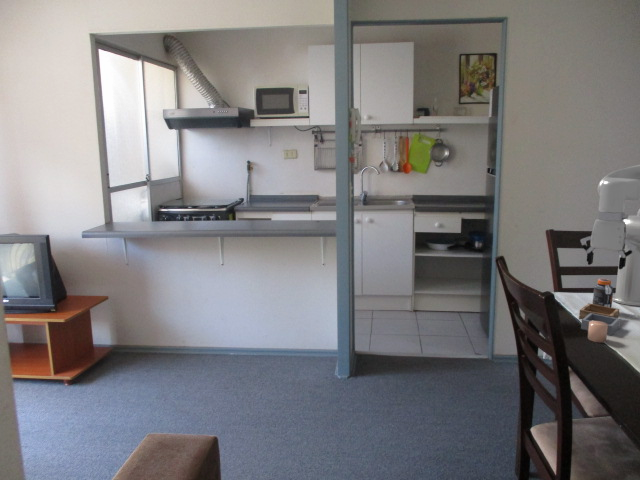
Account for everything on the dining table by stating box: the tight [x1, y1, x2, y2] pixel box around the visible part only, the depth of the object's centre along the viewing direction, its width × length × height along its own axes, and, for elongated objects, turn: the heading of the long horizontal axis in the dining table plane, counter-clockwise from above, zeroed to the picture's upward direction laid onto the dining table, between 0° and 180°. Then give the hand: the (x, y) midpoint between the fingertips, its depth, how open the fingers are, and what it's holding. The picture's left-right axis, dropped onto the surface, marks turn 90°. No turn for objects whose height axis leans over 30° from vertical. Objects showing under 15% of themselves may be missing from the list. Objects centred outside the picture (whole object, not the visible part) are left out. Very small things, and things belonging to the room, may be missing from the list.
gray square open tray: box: [580, 313, 621, 336], centre depth 172 cm, size 9×9×3 cm
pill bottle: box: [592, 278, 614, 308], centre depth 187 cm, size 6×6×11 cm
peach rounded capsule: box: [587, 321, 608, 343], centre depth 163 cm, size 5×5×5 cm
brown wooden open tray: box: [578, 302, 620, 320], centre depth 181 cm, size 10×10×3 cm
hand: (605, 266), depth 185 cm, fingers open, 9 cm apart
